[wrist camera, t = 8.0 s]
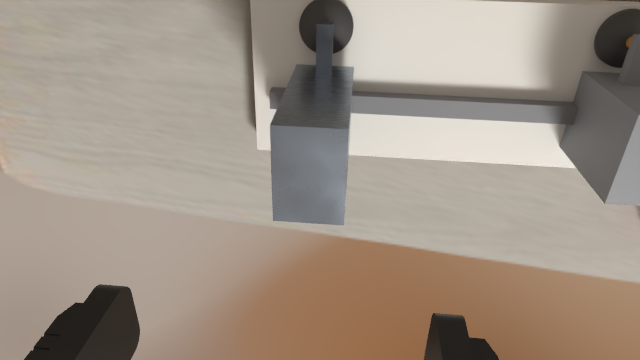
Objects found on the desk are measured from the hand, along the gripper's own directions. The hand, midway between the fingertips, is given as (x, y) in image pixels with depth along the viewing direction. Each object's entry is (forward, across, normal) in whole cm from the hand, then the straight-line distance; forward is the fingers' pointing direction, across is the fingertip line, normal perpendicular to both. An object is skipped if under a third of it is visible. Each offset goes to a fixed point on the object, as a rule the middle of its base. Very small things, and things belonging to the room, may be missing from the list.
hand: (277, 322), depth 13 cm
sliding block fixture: (+18, -7, -1) cm, 19 cm away
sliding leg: (+16, 0, -1) cm, 16 cm away
